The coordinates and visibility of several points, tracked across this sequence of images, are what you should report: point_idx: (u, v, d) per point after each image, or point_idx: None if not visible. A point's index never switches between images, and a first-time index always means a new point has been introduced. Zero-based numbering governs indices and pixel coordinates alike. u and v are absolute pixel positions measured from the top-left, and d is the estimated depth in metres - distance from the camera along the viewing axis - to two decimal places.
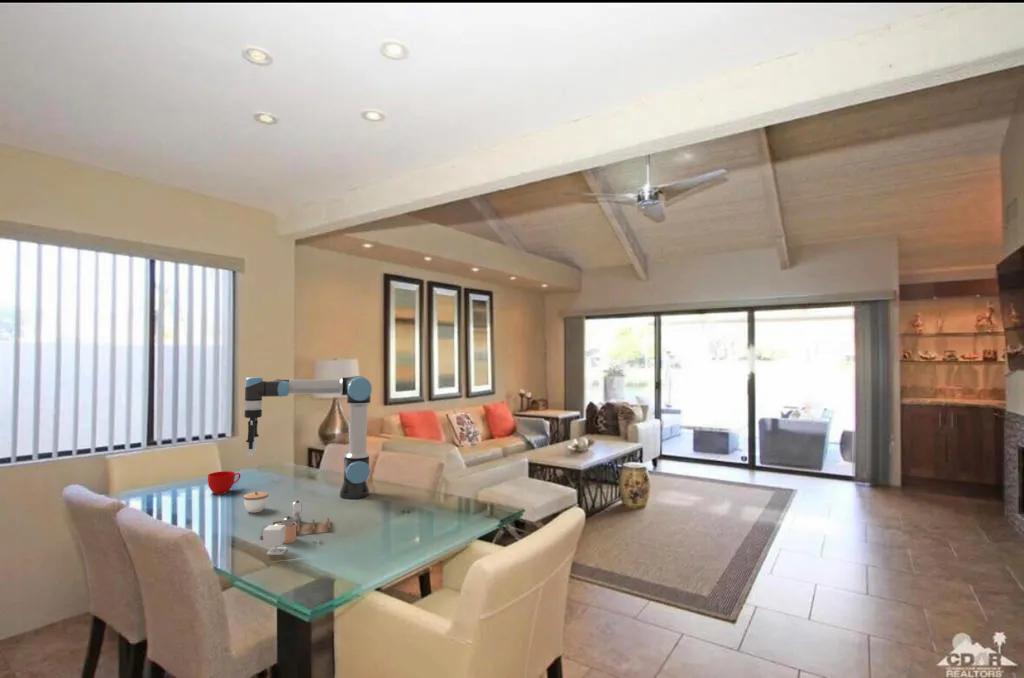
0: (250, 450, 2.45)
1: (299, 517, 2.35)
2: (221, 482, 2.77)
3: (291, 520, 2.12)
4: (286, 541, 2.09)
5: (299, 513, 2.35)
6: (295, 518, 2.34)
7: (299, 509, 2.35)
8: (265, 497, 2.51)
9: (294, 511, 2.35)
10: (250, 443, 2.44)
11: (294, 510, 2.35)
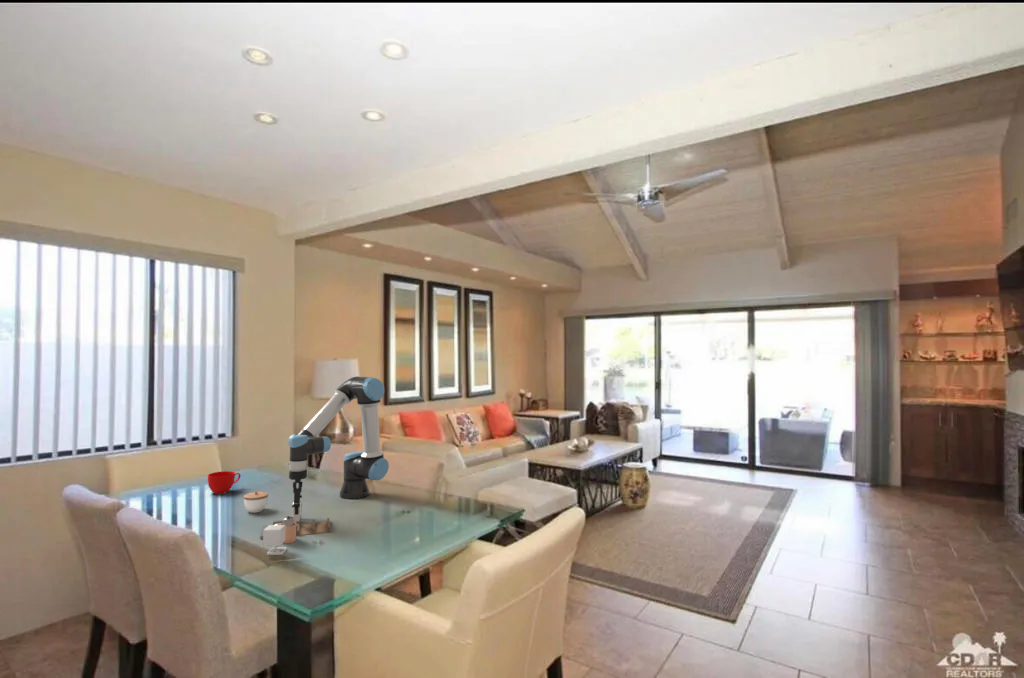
0: (296, 515, 2.30)
1: None
2: (221, 482, 2.77)
3: (291, 520, 2.12)
4: (286, 541, 2.09)
5: None
6: None
7: None
8: (265, 497, 2.51)
9: None
10: (296, 508, 2.29)
11: None
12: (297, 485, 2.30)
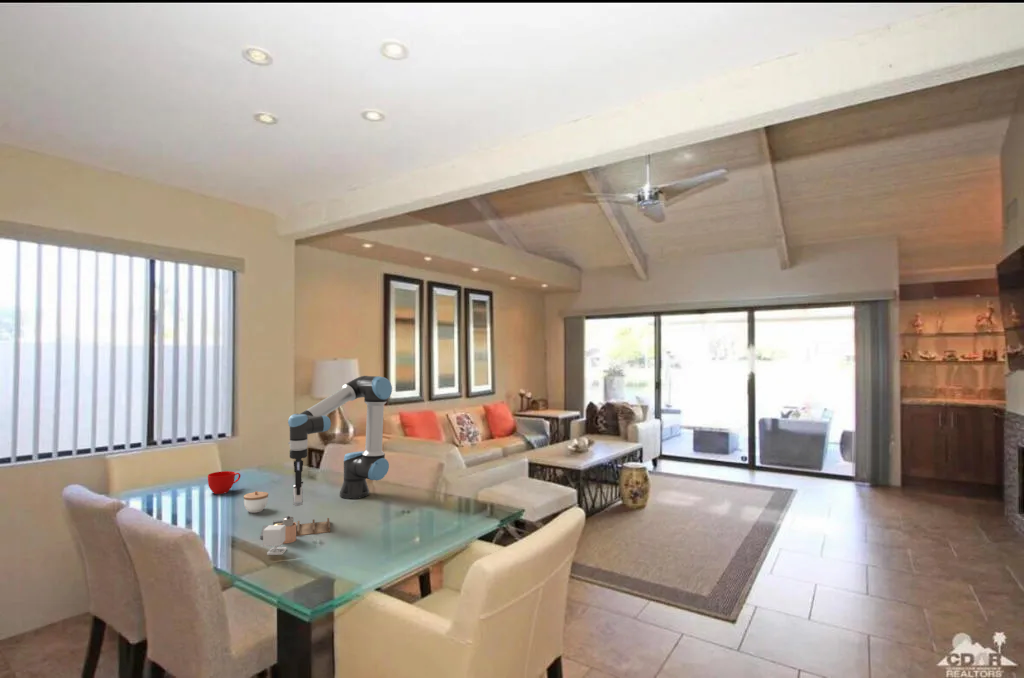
0: (298, 496, 2.35)
1: None
2: (221, 482, 2.77)
3: (291, 520, 2.12)
4: (286, 541, 2.09)
5: None
6: None
7: None
8: (265, 497, 2.51)
9: None
10: (298, 489, 2.33)
11: None
12: (298, 468, 2.31)
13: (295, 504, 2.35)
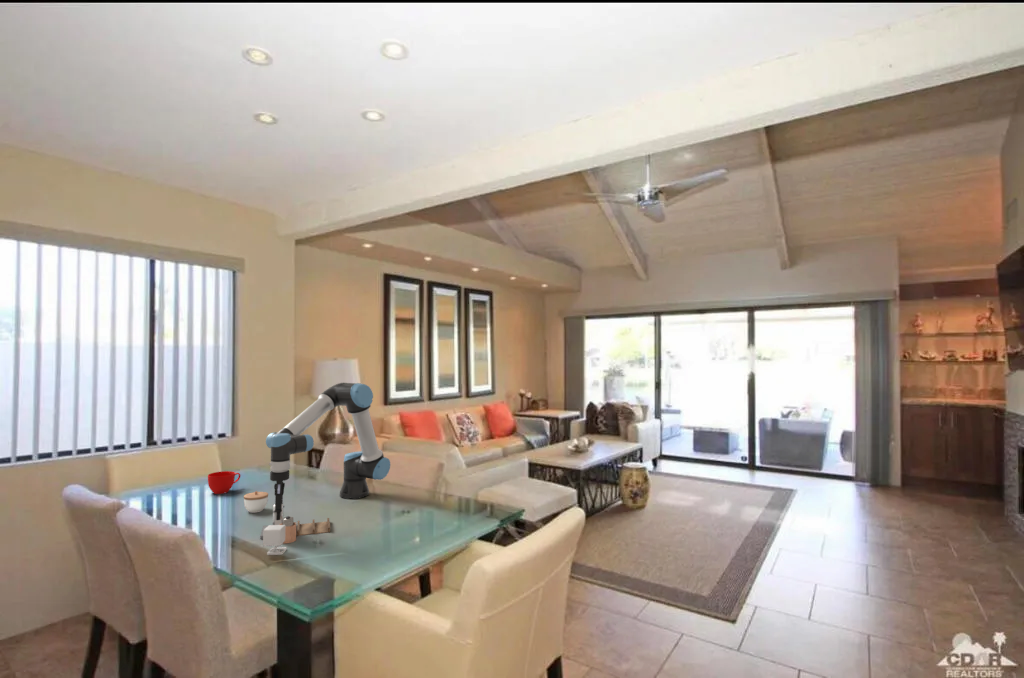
0: (277, 521, 2.19)
1: None
2: (221, 482, 2.77)
3: (291, 520, 2.12)
4: (286, 541, 2.09)
5: None
6: None
7: None
8: (265, 497, 2.51)
9: None
10: (278, 513, 2.18)
11: (274, 513, 2.20)
12: (278, 491, 2.16)
13: None
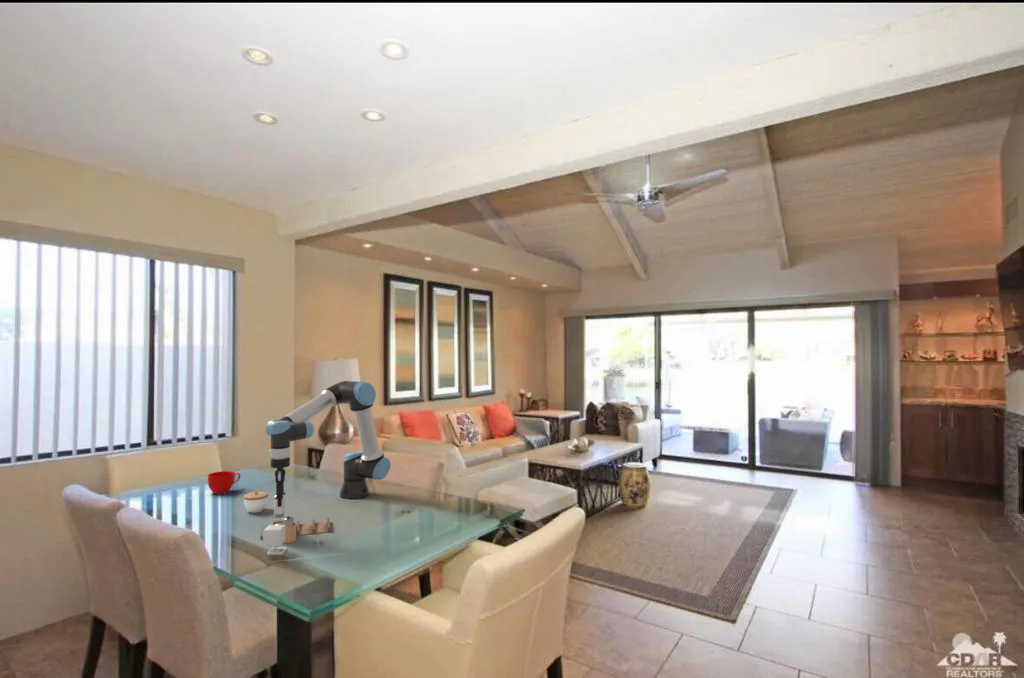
0: (279, 507, 2.20)
1: None
2: (221, 482, 2.77)
3: (291, 520, 2.12)
4: (286, 541, 2.09)
5: None
6: None
7: None
8: (265, 497, 2.51)
9: None
10: (279, 500, 2.19)
11: (275, 504, 2.20)
12: (279, 478, 2.16)
13: (276, 516, 2.20)
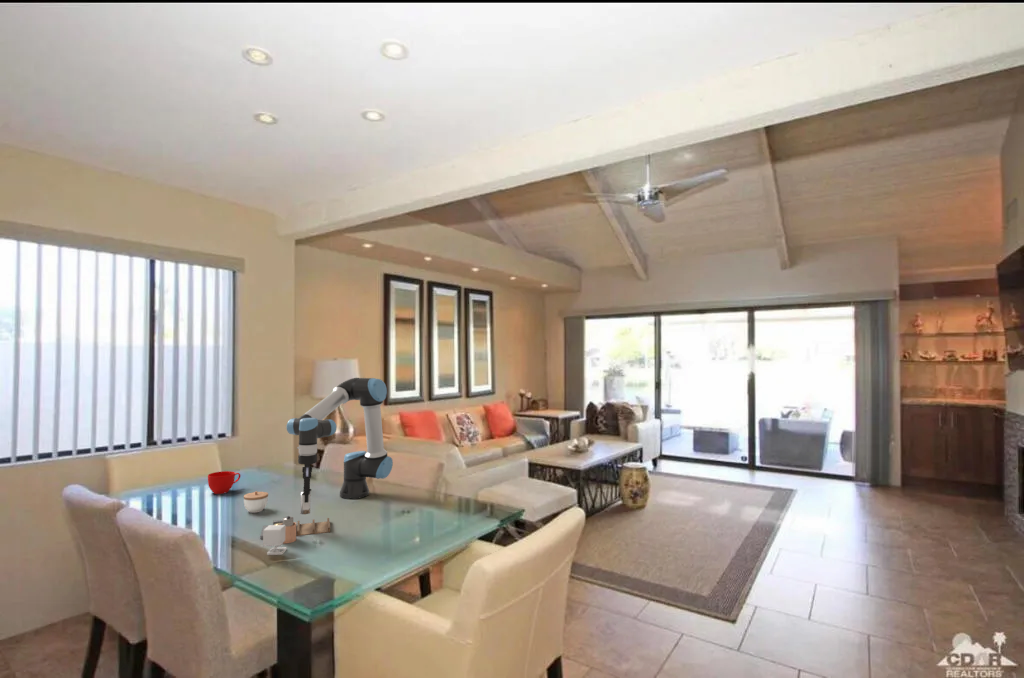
0: (306, 503, 2.23)
1: None
2: (221, 482, 2.77)
3: (291, 520, 2.12)
4: (286, 541, 2.09)
5: None
6: None
7: None
8: (265, 497, 2.51)
9: None
10: (306, 496, 2.23)
11: (302, 500, 2.24)
12: (307, 474, 2.20)
13: (302, 512, 2.24)
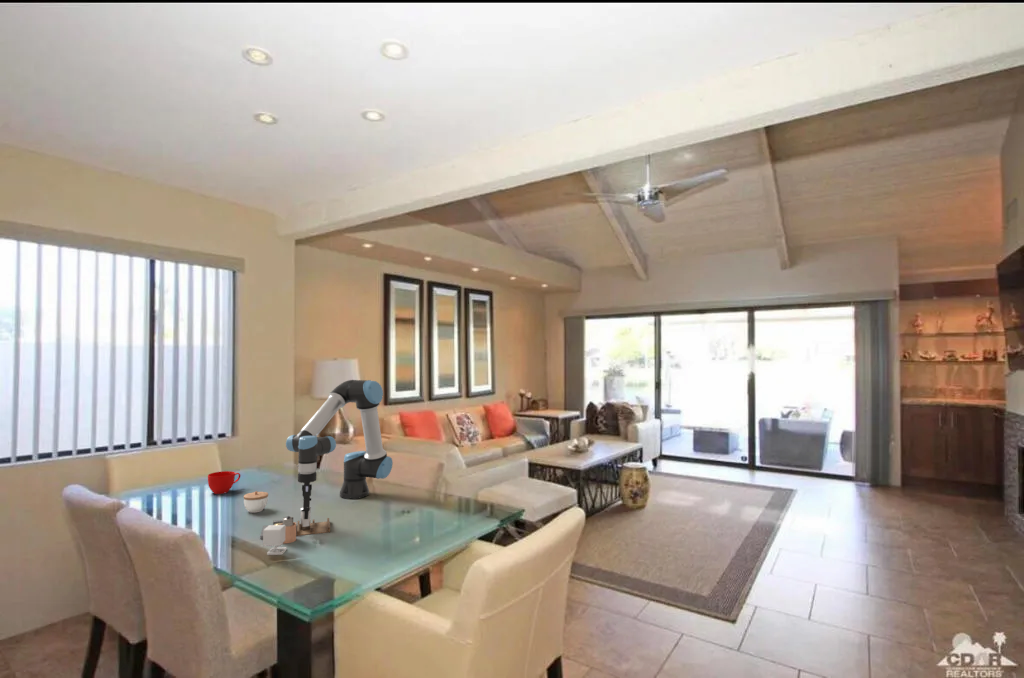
0: (305, 520, 2.19)
1: None
2: (221, 482, 2.77)
3: (291, 520, 2.12)
4: (286, 541, 2.09)
5: None
6: None
7: None
8: (265, 497, 2.51)
9: None
10: (306, 512, 2.18)
11: (302, 516, 2.24)
12: (306, 488, 2.20)
13: (302, 528, 2.24)
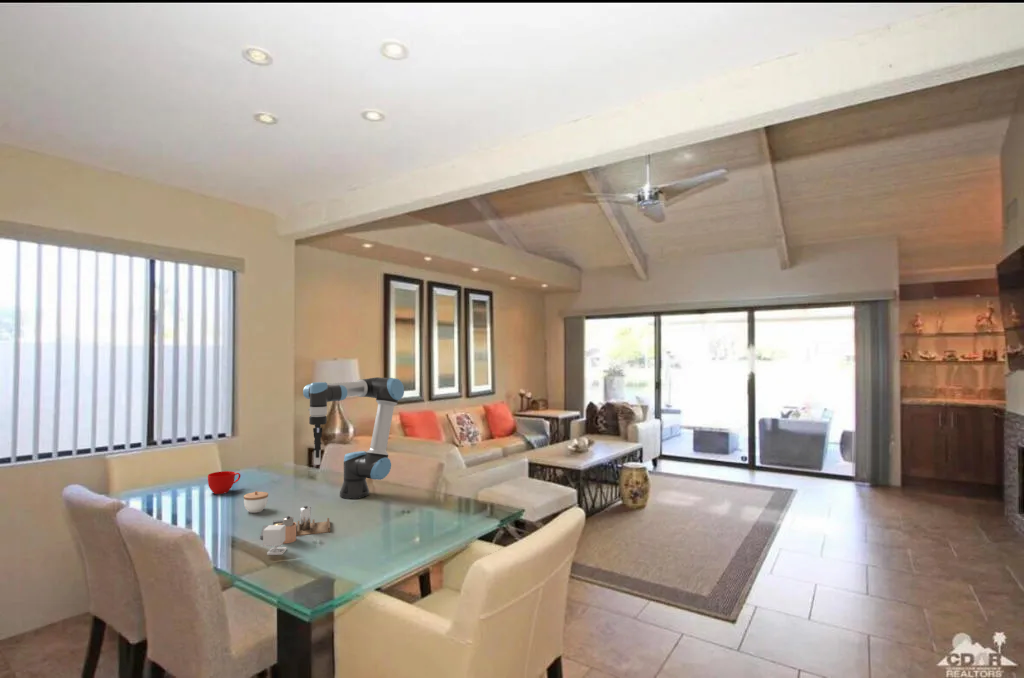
0: (317, 459, 2.34)
1: (308, 523, 2.24)
2: (221, 482, 2.77)
3: (291, 520, 2.12)
4: (286, 541, 2.09)
5: (308, 519, 2.24)
6: (304, 524, 2.24)
7: (308, 515, 2.24)
8: (265, 497, 2.51)
9: (303, 517, 2.24)
10: (317, 451, 2.33)
11: (302, 516, 2.24)
12: (318, 429, 2.35)
13: (302, 528, 2.24)
